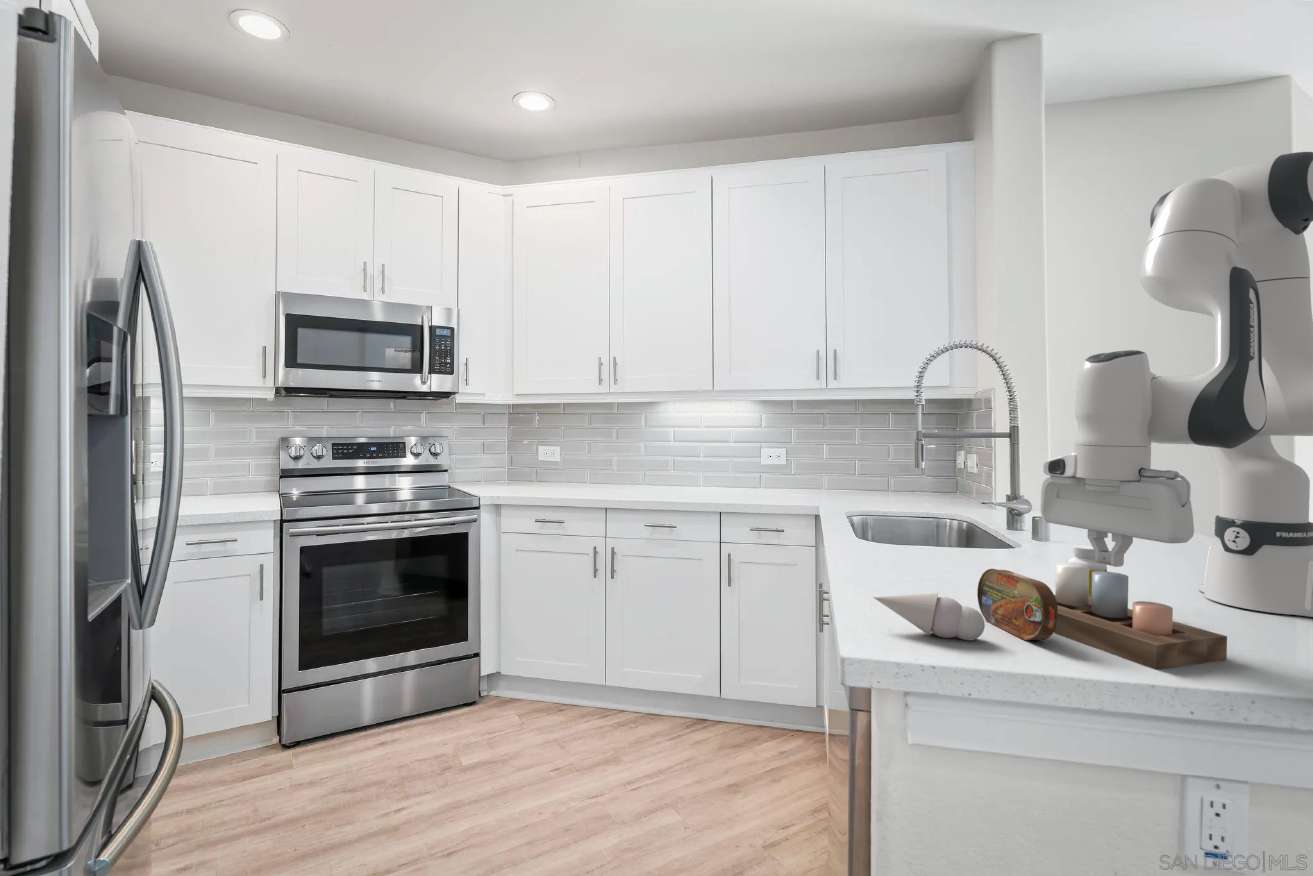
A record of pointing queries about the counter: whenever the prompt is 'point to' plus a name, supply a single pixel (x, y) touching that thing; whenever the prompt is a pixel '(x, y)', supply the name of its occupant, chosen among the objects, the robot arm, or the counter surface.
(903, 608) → the ice cream cone
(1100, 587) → the key slate
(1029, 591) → the tin
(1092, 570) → the supplement bottle
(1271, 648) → the counter surface
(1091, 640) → the wooden spice rack
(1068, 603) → the key ivory
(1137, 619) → the salmon pink cylinder
